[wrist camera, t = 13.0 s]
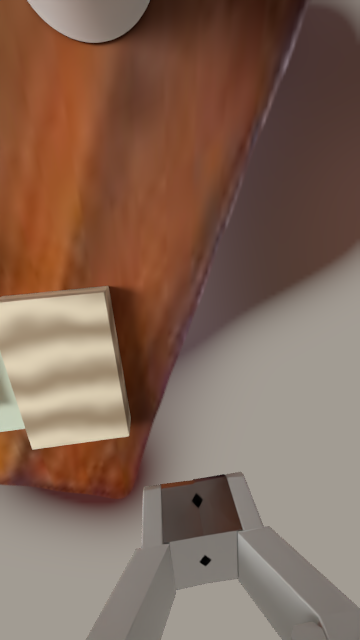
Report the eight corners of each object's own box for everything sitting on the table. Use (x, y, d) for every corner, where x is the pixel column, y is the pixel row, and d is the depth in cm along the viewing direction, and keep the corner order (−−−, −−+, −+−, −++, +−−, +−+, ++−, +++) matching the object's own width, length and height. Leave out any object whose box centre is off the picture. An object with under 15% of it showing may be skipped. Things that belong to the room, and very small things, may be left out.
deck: (2, 296, 36) (-16, 304, 32) (108, 285, 37) (103, 292, 33) (42, 430, 43) (32, 449, 39) (130, 418, 44) (129, 436, 40)
